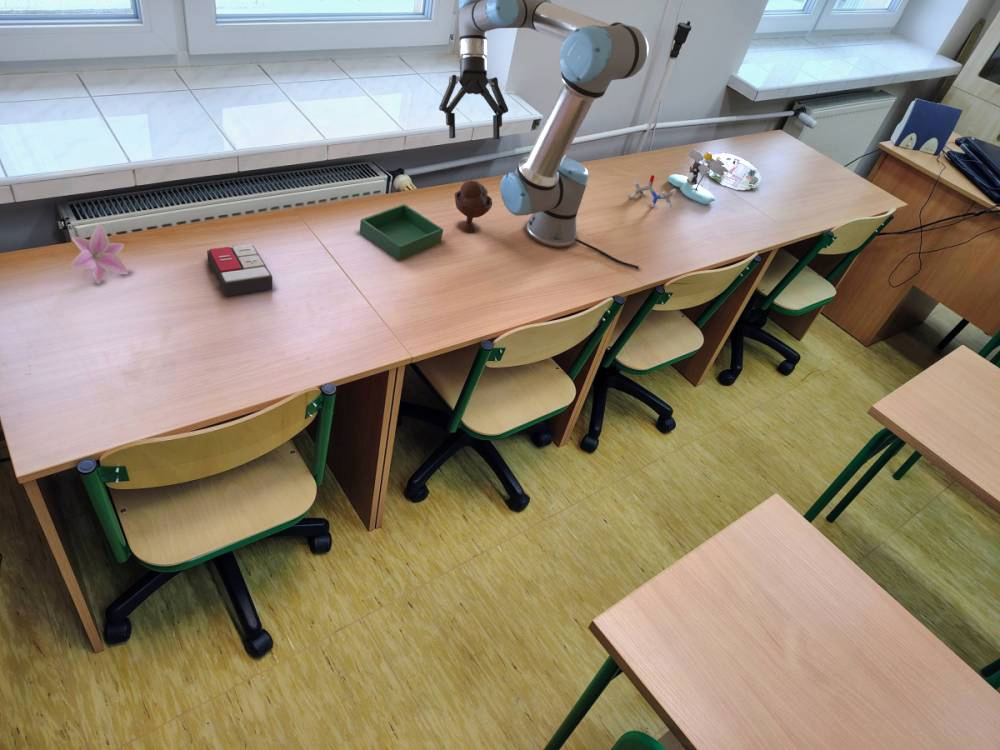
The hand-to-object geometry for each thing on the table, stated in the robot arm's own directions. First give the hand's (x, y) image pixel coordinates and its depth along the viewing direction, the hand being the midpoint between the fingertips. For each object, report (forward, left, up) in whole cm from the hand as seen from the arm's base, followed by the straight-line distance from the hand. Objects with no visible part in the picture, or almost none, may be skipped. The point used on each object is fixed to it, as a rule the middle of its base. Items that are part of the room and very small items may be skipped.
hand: (474, 138), depth 201 cm
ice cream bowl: (-10, +8, -22) cm, 25 cm away
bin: (-3, +29, -22) cm, 36 cm away
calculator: (+5, +74, -22) cm, 77 cm away
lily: (+22, +98, -22) cm, 103 cm away
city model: (-39, -114, -22) cm, 123 cm away
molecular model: (-33, -60, -22) cm, 72 cm away
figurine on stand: (-37, -84, -22) cm, 94 cm away
